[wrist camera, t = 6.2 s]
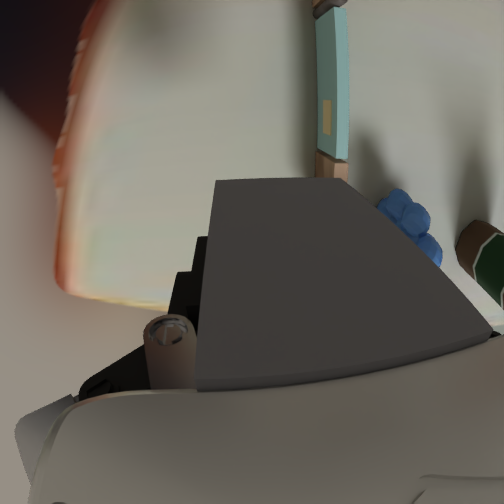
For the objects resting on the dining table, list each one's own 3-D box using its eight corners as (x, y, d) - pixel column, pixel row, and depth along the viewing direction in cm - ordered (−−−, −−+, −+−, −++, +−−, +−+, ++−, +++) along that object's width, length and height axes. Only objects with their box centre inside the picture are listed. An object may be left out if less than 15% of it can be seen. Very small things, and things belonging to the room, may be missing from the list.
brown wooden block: (309, -31, 18) (327, -55, 13) (321, -30, 18) (341, -52, 13) (313, 203, 30) (331, 226, 25) (325, 203, 30) (344, 226, 25)
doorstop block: (215, 180, 11) (193, 379, 4) (340, 177, 12) (493, 330, 4) (224, 303, 14) (229, 491, 6) (326, 296, 15) (391, 464, 7)
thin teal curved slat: (313, 21, 21) (332, 6, 16) (325, 22, 21) (345, 8, 16) (316, 147, 27) (334, 158, 22) (327, 147, 27) (347, 158, 22)
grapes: (405, 264, 35) (457, 325, 24) (359, 274, 35) (403, 343, 24) (414, 175, 29) (485, 218, 19) (361, 180, 29) (426, 228, 19)
